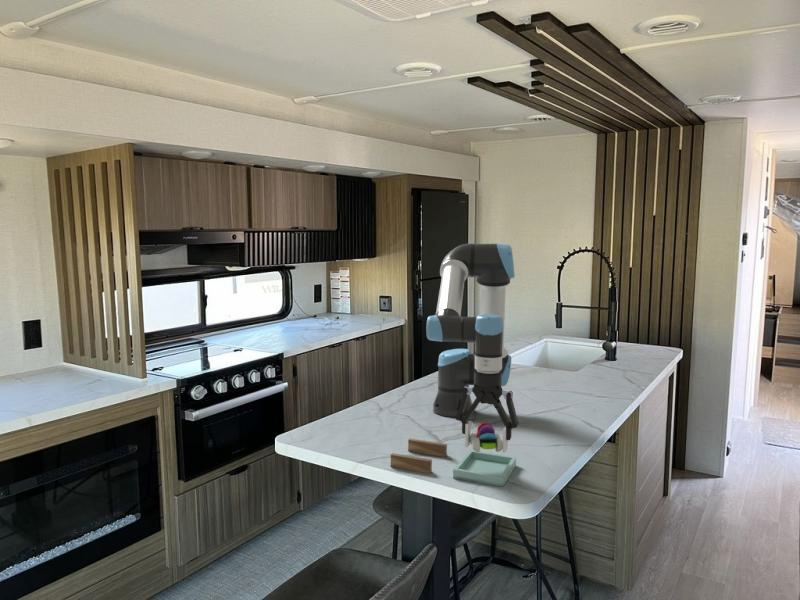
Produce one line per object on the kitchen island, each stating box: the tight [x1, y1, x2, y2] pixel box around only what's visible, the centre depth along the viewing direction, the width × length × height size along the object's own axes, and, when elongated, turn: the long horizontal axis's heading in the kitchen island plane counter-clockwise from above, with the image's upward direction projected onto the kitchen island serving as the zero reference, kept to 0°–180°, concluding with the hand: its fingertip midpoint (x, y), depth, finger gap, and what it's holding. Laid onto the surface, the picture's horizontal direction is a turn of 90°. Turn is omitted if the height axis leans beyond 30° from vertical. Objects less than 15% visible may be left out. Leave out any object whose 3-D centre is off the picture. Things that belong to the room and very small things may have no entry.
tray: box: [452, 449, 517, 488], centre depth 171 cm, size 16×14×2 cm
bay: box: [390, 438, 448, 474], centre depth 179 cm, size 15×12×4 cm
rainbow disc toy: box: [470, 422, 503, 453], centre depth 170 cm, size 8×10×7 cm
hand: (486, 447), depth 170 cm, fingers closed on rainbow disc toy, 10 cm apart
